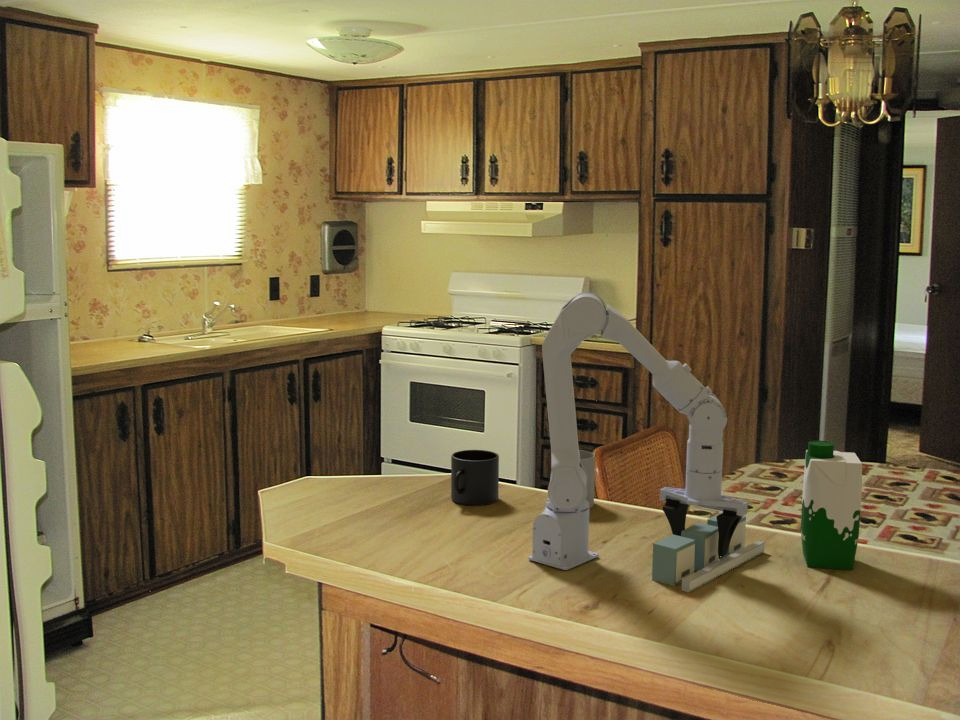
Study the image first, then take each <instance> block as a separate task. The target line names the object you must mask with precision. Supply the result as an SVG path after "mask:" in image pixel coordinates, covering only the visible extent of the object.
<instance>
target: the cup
mask: <svg viewBox="0 0 960 720" xmlns="http://www.w3.org/2000/svg"><path fill="white" fill-rule="evenodd" d="M579 452H580V460H581V463H582V465H583V467H584V468H585V470H586V472H587V476H588V481H587V485H586V489H587V496H586V500H587V501H588V502H589V509H591V508H593V507H595V506H594V505H595V474H596V473H595V472H596V469H595V468H596V466H595V465H596V454H595V453H593V452H592V451H588V450H583V449H579Z"/></svg>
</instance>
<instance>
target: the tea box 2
mask: <svg viewBox="0 0 960 720" xmlns="http://www.w3.org/2000/svg"><path fill="white" fill-rule="evenodd" d="M681 537H685V538H689V539H694V540H695V560H694V569H695V570H694V571H697V570H701V569H703V568H705V567H707V566H709V565H711V564H713V563H715V562H717V561H719V560H720V557H719V556H718V540H719V534H718V527H717V526H712V525H707V523H703V522H702V523H701V522H696V523H694V524H692V525H690V526H688V527H686V528H685V530H683V531H681Z"/></svg>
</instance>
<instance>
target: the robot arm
mask: <svg viewBox="0 0 960 720" xmlns="http://www.w3.org/2000/svg"><path fill="white" fill-rule="evenodd" d="M606 307H607V308H606ZM599 332H600V339H603V340H609V341H613V342H617V343H619V344H620V345H621V346H622V348H624V349H625V350H626V351H627V352H628V353H629V354H630V355H631V356H632V357H634V358H635V359H636V360H637V361H638V362H639V363H640V364H641V365H642V366H643V367H644V368H646V370H648V371H649V372H650V373H651V374H652V387H654V389H655V390H656V391H657V392H658V393H659V394H661V395H662V397H663V398H664V399H665V400H666V401H667V402H668V403H670V405H671V406H672V407H674V409H676V411H678V413H680V414H683V415H686V419H687V420H688V421H689V425H688V426H689V427H688V439H687V442H686V443H687V444H686V463H685V467H686V469H685V488H679V487H678V488H677V487H668V486H664V487H663V488H662V487H661V488H660V489H659V501H662V502H664V503H665V504H663V505H662V511H663V513H664V516H665V517H666V518H667V520H668V524H669V526H670V530H671V533H672V534H671V535H677V536H681V531H683V530H685V529H686V519H687V514H688V508H689V506H695V507H700V508H703V509H710V510H715V511H720V512H721V513H718V514H717V515H718V516H717V524H718V534H719V540H718V556H721V557H720V558H723V556H724V555H726V554H727V552H728V547H729V544H730V541H731V538H732V535H733V533H734V531H735V529H736V527H737V525H738V523H739V521H740V520H741V518H742V517H743V516H746V515H747V514H748V505H749V504H748V501H744V500H741V499H737V498H734V497H730V496H727V495H724V494H722V485H723V484H722V482H723V463H724V462H723V461H724V458H723V457H724V441H723V437H724V429H725V428H726V426H727V422H728V417H727V413H726V410H725V408H724V406H723V404H722V402H721V400H720V399H719V398H717V395H716V394H714V393H712V392H713V391H712V389H711V388H710V387H709V386H708V385H707V386H706V387H705V386H704V385H703V384H702V383H701V382H700V381H699V379H697V378H696V377H695V375H693V374H692V373H691V371H692V368H691V367H690V366H689V365H688V364H687V363H684V364H682V363H681V362H680V361H679V360H667V359H666V358H664V356H663V355H661V354H660V352H659V351H658V350H657V349H656V348H655V347H654V346H653V345H652V344H651V343H650V341H648V340H647V338H646V337H644V335H643V334H642V333H641V332H640V331H639V330H638V329H637V327H635V326H634V325H633V323H631V321H629V319H628V318H626V316H624V315H623V314H621V312H619V311H618V310H616V309H615V308H614V307H613V306H612V305H611V304H608V303H607V306H606V304H605V301H604V300H603V299H602V298H601V297H600V295H598V294H596V293H594V292H589V291H583V292H580V293H578V294H576V295H574V296H573V297H572V298H571V299H570V300H568V302H567V303H565V304H564V305H563V306H562V307H561V310H560V312H559V313H558V315H557V317H556V318H555V320H554V321H553V324H552V325H551V326H550V328H549V331H548V332H547V334H546V336H545V337H544V339H543V341H542V344H541V345H542V346H541V352H542V363H543V374H544V386H545V398H546V407H547V408H546V409H547V419H548V430H549V432H548V433H549V441H550V453H551V457H550V458H551V459H550V460H551V463H550V465H551V466H550V468H551V471H550V476H549V477H550V478H549V484H548V487H547V497H548V498H547V499H546V501H545V507H544V509H543V511H542V512H541V513H540V514H539V515H537V517H536V518H535V519H534V521H533V523H532V524H533V525H532V555H531V554H530V555H529V556H528V557H527V558H528V560H529V561H532V562H537V563H539V564H542V565H546V566H549V567H552V568H556V569H559V570H562V571H568V570H571V569H573V568H575V567H577V566H580V565H582V564H585V563H587V562H589V561H592V560H594V559H596V558H598V557H599V556H600V554H599V552H595V551H591V550H589V542H590V541H589V539H590V538H589V537H590V508H589V502H588V501H587V500H586V496H587V489H586V485H587V481H588V476H587V472H586V470H585V468H584V467H583V465H582V463H581V460H580V452H579V450H580V447H579V437H578V425H577V414H576V412H577V411H576V402H575V401H576V400H575V391H574V380H573V379H574V377H573V366H572V356H571V355H572V353H573V352H574V351H575V350H576V349H577V348H578V347H579V346H580V345H581V344H582V342H584V341H586V340H587V339H590V338H591V337H593V336H595V335H596V334H598V333H599Z"/></svg>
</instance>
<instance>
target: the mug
mask: <svg viewBox="0 0 960 720" xmlns="http://www.w3.org/2000/svg"><path fill="white" fill-rule="evenodd" d="M450 457H451V459H450V465H451V466H450V467H451V469H450V472H451V474H450V475H451V476H450V477H451V479H450V482H451V484H450V498H451V500H452V502H454V503H457V504H459V505H462V506H463V505H465V506H475V507H476V506H486V505H490V504H494V503H496V502H497V501H498V500H499V483H500V482H499V480H500V479H499V475H500V474H499V471H500V467H499V466H500V456H499V454H498V453H496V452H494V451H489V450H486V449H485V450H484V449H467V450H466V449H465V450H459V451H456V452H454V453H452V454H451V455H450Z"/></svg>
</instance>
